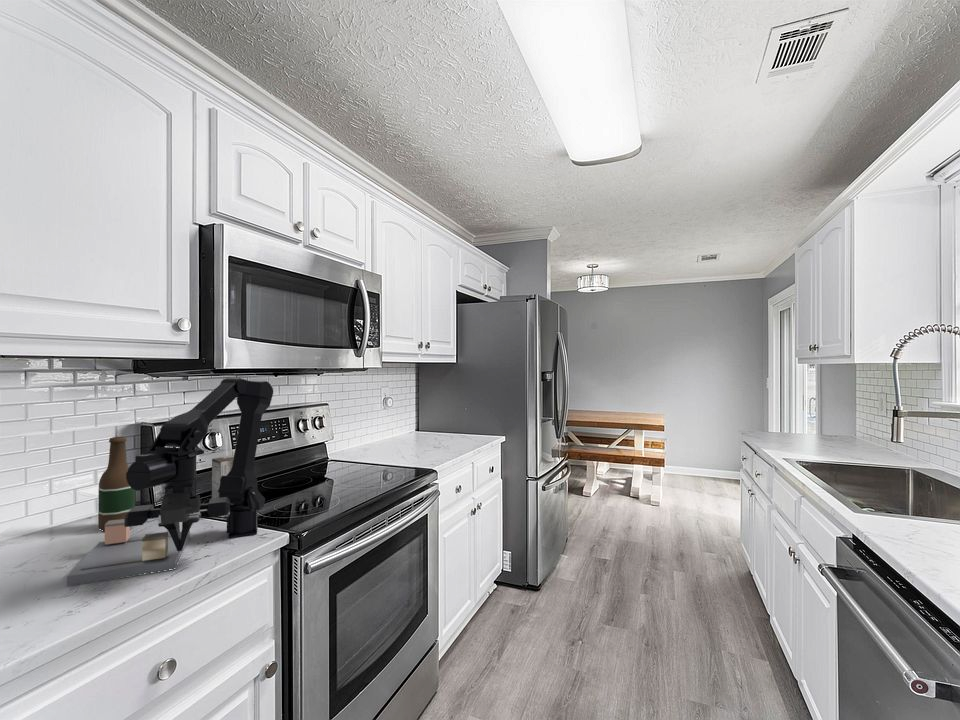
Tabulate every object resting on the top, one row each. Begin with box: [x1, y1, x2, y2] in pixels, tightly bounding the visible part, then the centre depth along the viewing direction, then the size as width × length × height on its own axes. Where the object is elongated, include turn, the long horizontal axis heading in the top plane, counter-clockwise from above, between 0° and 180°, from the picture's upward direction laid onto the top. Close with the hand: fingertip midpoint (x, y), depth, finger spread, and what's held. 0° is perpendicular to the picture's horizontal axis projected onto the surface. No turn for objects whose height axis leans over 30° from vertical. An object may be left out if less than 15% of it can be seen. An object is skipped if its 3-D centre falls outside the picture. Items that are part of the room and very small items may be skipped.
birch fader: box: [142, 531, 169, 561], centre depth 99 cm, size 4×3×4 cm
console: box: [66, 530, 191, 587], centre depth 103 cm, size 18×19×2 cm
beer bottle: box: [97, 435, 136, 532], centre depth 124 cm, size 8×8×24 cm
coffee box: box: [211, 454, 234, 518], centre depth 137 cm, size 9×6×16 cm
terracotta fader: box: [104, 519, 131, 544], centre depth 107 cm, size 4×3×4 cm
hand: (180, 550), depth 101 cm, fingers closed
